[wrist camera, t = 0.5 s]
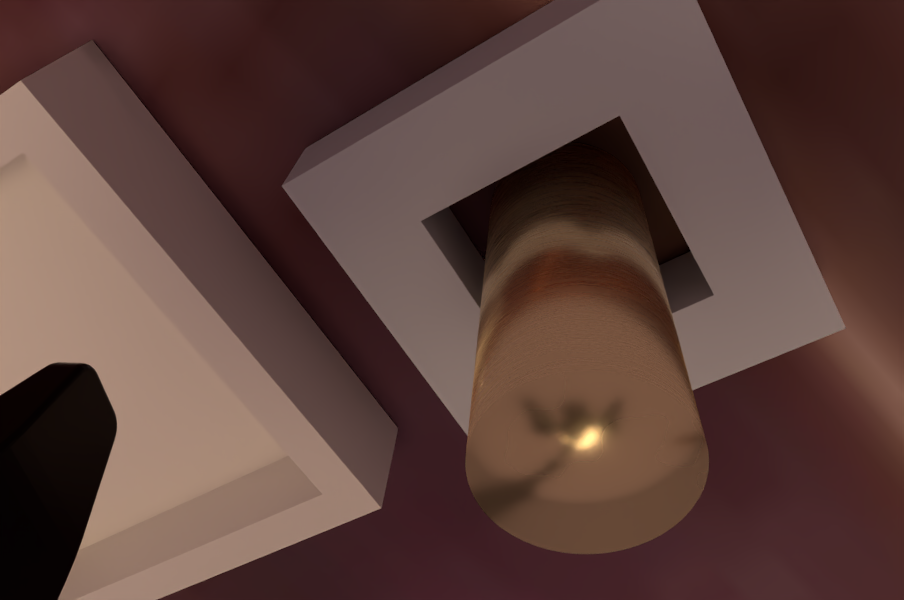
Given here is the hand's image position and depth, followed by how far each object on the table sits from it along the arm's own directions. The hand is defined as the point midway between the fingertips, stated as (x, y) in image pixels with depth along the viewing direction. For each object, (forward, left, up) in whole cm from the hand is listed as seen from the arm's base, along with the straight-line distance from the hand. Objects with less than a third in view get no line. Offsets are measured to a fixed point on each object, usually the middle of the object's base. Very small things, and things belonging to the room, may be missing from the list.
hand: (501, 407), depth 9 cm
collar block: (-1, -4, -14) cm, 15 cm away
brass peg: (-1, -4, -14) cm, 15 cm away
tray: (-16, -1, -14) cm, 21 cm away
